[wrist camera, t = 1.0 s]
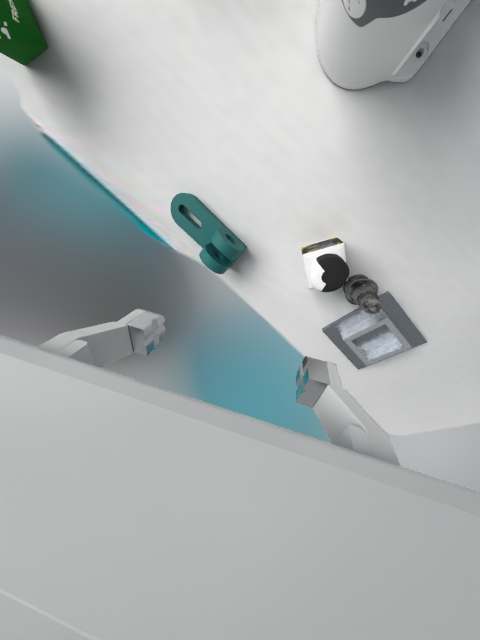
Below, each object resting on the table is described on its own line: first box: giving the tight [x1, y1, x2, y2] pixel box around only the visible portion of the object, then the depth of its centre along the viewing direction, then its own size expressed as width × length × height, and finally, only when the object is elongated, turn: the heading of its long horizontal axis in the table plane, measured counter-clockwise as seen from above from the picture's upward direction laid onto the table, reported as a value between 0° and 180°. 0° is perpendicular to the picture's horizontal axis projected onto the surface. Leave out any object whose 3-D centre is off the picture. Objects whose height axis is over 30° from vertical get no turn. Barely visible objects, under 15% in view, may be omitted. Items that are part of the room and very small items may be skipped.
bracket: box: [171, 193, 247, 274], centre depth 41 cm, size 18×7×8 cm, turn 49°
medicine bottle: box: [301, 238, 349, 292], centre depth 36 cm, size 7×7×12 cm
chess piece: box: [343, 275, 381, 314], centre depth 37 cm, size 6×6×12 cm
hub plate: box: [322, 291, 427, 369], centre depth 46 cm, size 16×16×4 cm
